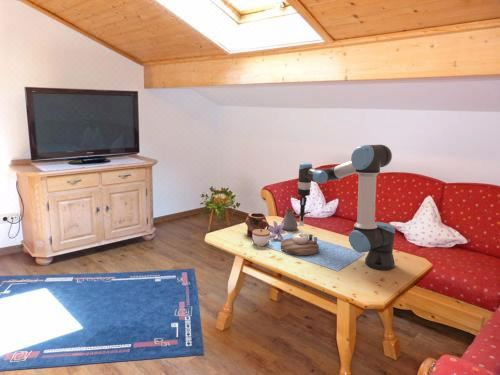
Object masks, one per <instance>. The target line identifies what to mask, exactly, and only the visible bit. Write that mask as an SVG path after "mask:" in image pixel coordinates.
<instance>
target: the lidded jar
mask: <svg viewBox="0 0 500 375" xmlns="http://www.w3.org/2000/svg"><path fill="white" fill-rule="evenodd" d="M270 235H271V232H270V231H268V230H266V228H265V229H256V230H253V231H252V237H251V238H252V241H253V242H254V243H255V245H256V246H260V247H262V246H263V247H264V246H265V245H267V243H268V242H269V240H270V239H269V238H270Z"/></svg>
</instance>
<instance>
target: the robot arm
mask: <svg viewBox="0 0 500 375" xmlns="http://www.w3.org/2000/svg"><path fill="white" fill-rule="evenodd" d="M350 156H351V157H350V160H349V161H345V162H343V163H341V164H338V165H336V166H333V167H329V168H328V167H327V168H314V167H313V164H312V163H310V162H300V163H299V166H298V167H299V168H298V181H297V183H296V184H297V195H299V196H300V197H299V205H300V208H299V209H300V211H299V213H298V214H299V215H298V217H299V221H298V222H299V223H298V226H299V227H304V225H305V216H306V214H304V213H306V212H305V211H306V210H305V208H306V205H307V197H308V196H310V195H311V187H312V182H313V183H316V184H324V183H326V182H331V181H339V180H341V179H342V178H344V177H349V176H350V175H355V174H357V175H358V184H357V185H358V186H357V214H356V216H357V218H356V222H355V223H354V224H353V230H352V231H351V232H350V233H349V235H348V241H349V245H350V247H351V248H352V249H353V250H354V251H355V252H357V253H367V254H366V256H365V258H364V259H365V260H364V264H365V265H366V266H367V267H368V268H371V269H375V270H379V271H391V270H393V269H394V268H395V265H396V263H395V257H394V254H393V251H394V244H395V243H394V242H395V236H396V235H395V234H396V229H395V228H396V227H395V226H394V225H392V224H390V223H386V222H381V221H376V220H375V219H376V197H377V196H376V195H377V176H379V174H380V172H381V168H385V167H386V166H388V165H390V163H391V161H392V158H393V153H392V150H391V149H390V148H389V147H388V146H386V145H385V144H364V145H360V146H357V147H355V149H354V150H353V152H352V154H351V155H350Z"/></svg>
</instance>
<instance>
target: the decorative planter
mask: <svg viewBox="0 0 500 375" xmlns="http://www.w3.org/2000/svg"><path fill="white" fill-rule="evenodd" d="M244 223H245V225H246V226H247V230H246V232H247V236H248V237H250V238H253V237H252V231H253V230H256V229H265V230H268V229H269V225H270V224H269V222H268V220H267V217H266V215H265V214H263V213H260V212H259V213H258V212H257V213H256V212H251V213H249V214H247V217H246V219H245V221H244Z"/></svg>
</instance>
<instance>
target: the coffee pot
mask: <svg viewBox="0 0 500 375" xmlns="http://www.w3.org/2000/svg"><path fill="white" fill-rule="evenodd" d="M284 212H285V215H284V217H283V219H282V221H281V223H283V222H284V226H283V228H282V229H283V231H287V232H288V231H294V230H296V229H297V228H298V226H299V223H298V222H297V219H296V217H297V216H298V217H299V214H300V213H298V214H294V213H295V210H294V209H285V211H284ZM304 214H305V215H307V214H312V211H306V212H305V213H304Z"/></svg>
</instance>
